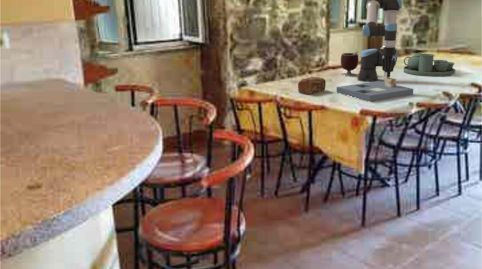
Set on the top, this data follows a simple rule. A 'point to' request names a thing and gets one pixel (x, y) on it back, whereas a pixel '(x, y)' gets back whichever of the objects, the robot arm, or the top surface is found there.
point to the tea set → (428, 66)
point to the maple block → (390, 82)
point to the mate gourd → (349, 63)
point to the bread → (311, 85)
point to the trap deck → (374, 91)
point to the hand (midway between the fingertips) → (386, 81)
